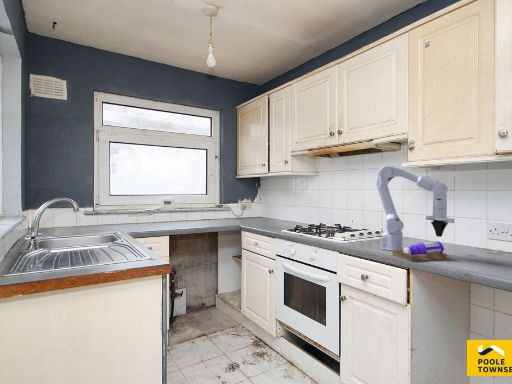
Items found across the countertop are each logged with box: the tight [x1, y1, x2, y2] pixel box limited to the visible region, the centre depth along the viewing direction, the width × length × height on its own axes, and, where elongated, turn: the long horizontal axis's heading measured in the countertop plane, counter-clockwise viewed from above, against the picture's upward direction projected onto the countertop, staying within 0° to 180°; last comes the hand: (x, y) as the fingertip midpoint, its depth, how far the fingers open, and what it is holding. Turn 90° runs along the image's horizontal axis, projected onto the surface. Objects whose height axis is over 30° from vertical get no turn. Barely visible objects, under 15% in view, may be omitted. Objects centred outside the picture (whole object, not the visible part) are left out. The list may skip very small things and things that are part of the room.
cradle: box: [392, 250, 447, 262], centre depth 142 cm, size 19×12×2 cm, turn 105°
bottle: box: [403, 240, 445, 255], centre depth 141 cm, size 7×6×17 cm
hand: (439, 236), depth 145 cm, fingers closed
